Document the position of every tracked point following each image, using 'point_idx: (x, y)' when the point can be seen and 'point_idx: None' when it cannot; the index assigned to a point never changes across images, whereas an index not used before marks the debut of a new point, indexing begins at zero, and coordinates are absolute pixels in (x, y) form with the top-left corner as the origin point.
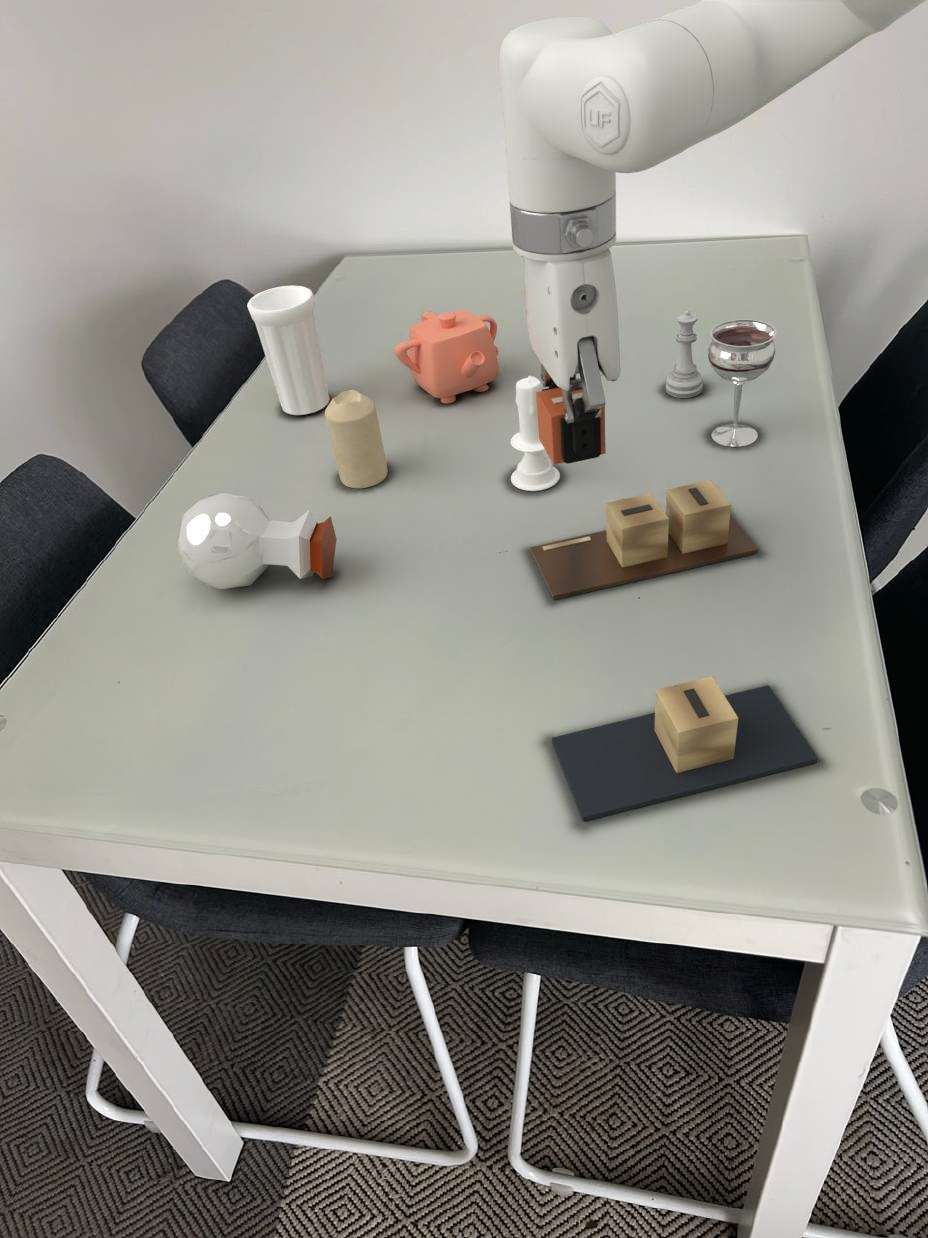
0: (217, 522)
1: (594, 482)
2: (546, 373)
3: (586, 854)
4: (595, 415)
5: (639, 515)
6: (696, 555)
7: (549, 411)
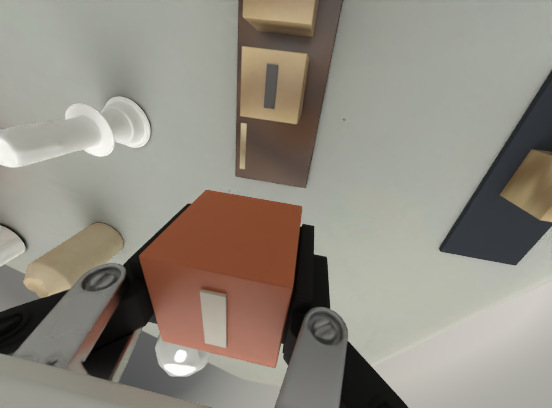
0: (191, 370)
1: (145, 66)
2: (124, 365)
3: (533, 270)
4: (356, 351)
5: (281, 89)
6: (323, 20)
7: (253, 362)
